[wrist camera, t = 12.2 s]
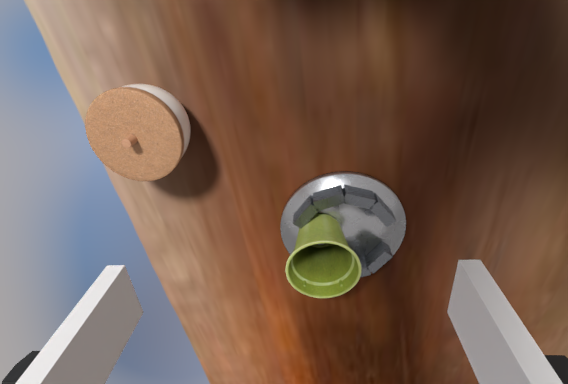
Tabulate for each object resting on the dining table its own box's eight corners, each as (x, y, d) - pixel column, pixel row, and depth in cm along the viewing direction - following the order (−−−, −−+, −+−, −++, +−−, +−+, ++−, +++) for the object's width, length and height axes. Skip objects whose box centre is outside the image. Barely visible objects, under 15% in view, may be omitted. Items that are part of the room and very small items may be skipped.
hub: (342, 145, 44) (344, 155, 41) (430, 223, 49) (438, 238, 46) (256, 228, 51) (253, 242, 48) (341, 289, 56) (343, 305, 53)
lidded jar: (190, 167, 47) (165, 201, 39) (114, 139, 46) (72, 168, 37) (210, 94, 42) (186, 116, 34) (125, 61, 40) (79, 75, 32)
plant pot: (353, 201, 46) (363, 240, 39) (352, 254, 51) (360, 298, 44) (285, 204, 47) (282, 242, 40) (290, 255, 52) (288, 299, 44)
